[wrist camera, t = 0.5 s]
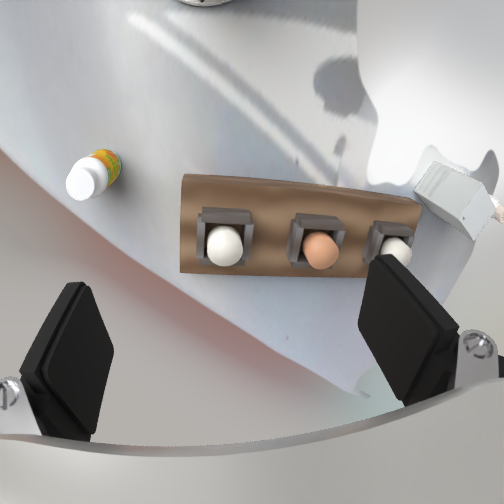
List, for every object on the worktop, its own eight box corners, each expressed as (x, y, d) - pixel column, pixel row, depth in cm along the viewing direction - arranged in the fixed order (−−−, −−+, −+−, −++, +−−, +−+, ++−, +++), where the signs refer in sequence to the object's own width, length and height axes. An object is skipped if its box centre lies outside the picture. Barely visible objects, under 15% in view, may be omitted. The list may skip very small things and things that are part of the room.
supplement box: (431, 212, 50) (473, 243, 39) (411, 189, 47) (457, 218, 36) (452, 184, 48) (497, 209, 37) (434, 159, 45) (483, 182, 34)
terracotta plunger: (305, 229, 41) (311, 239, 39) (334, 231, 42) (342, 241, 39) (299, 257, 43) (304, 268, 41) (327, 258, 44) (334, 269, 41)
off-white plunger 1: (208, 224, 39) (208, 234, 36) (242, 225, 40) (244, 235, 37) (206, 254, 41) (206, 265, 38) (238, 255, 42) (241, 266, 39)
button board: (184, 173, 42) (179, 188, 36) (410, 198, 48) (432, 213, 42) (181, 259, 48) (178, 284, 42) (388, 266, 55) (406, 287, 49)
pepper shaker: (476, 207, 51) (506, 226, 43) (465, 204, 50) (496, 224, 42) (481, 189, 49) (512, 207, 41) (470, 186, 48) (502, 204, 40)
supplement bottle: (127, 175, 41) (106, 197, 32) (96, 188, 41) (71, 212, 32) (114, 142, 38) (89, 155, 29) (83, 156, 38) (54, 173, 30)
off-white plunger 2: (384, 235, 43) (393, 244, 41) (405, 237, 44) (415, 246, 41) (376, 260, 45) (384, 270, 43) (397, 261, 46) (406, 271, 43)
